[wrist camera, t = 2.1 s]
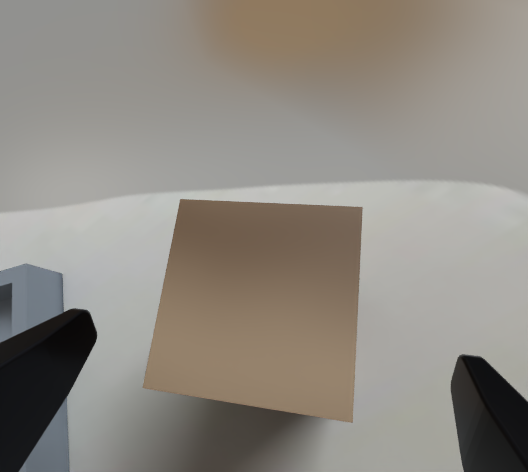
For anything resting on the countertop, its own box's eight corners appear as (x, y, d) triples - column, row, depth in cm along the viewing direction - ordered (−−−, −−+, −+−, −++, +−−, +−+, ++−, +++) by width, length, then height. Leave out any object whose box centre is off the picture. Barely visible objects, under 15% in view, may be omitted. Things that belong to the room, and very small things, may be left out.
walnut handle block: (341, 381, 16) (352, 422, 7) (244, 367, 17) (142, 387, 8) (347, 282, 18) (362, 206, 8) (256, 274, 19) (180, 199, 9)
